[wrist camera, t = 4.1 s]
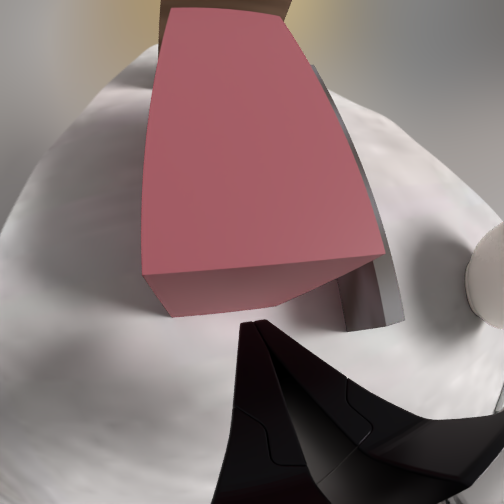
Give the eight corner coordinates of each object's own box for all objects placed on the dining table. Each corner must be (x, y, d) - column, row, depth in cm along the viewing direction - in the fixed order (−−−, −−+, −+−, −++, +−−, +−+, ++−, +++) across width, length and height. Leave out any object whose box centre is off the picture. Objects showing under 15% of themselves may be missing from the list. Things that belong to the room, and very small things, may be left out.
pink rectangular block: (275, 306, 16) (385, 253, 7) (171, 317, 14) (142, 275, 5) (243, 124, 20) (279, 16, 11) (167, 125, 18) (171, 7, 9)
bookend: (365, 327, 17) (531, 285, 6) (159, 361, 13) (64, 421, 2) (293, 84, 23) (339, -12, 12) (160, 77, 20) (167, -39, 9)
